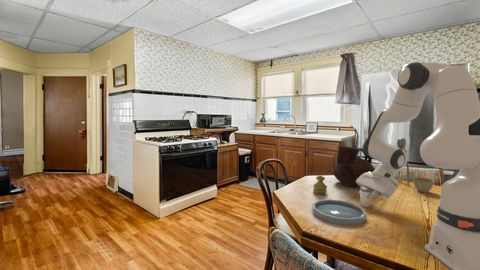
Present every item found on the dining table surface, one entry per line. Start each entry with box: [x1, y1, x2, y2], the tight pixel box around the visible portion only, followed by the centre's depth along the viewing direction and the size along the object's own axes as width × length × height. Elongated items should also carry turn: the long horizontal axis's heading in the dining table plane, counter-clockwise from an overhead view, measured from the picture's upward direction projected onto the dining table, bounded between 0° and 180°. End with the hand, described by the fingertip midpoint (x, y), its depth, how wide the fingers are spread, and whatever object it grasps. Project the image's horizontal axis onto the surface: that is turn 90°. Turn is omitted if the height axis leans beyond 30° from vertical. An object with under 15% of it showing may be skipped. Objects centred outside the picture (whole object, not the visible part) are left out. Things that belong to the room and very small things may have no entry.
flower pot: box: [412, 176, 435, 194], centre depth 142 cm, size 10×10×7 cm
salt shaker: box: [312, 175, 328, 196], centre depth 138 cm, size 7×7×10 cm
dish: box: [311, 198, 367, 226], centre depth 110 cm, size 22×22×2 cm
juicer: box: [396, 137, 410, 186], centre depth 156 cm, size 10×11×30 cm
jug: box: [332, 145, 376, 187], centre depth 154 cm, size 25×25×25 cm
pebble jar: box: [359, 187, 372, 208], centre depth 120 cm, size 5×5×8 cm
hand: (364, 196), depth 120 cm, fingers closed on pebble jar, 4 cm apart
